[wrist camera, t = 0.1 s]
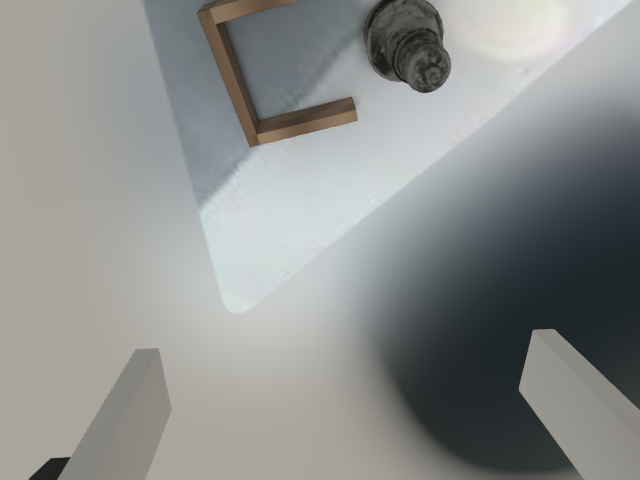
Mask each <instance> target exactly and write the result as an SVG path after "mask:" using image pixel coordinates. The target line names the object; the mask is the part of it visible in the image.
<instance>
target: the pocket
mask: <svg viewBox="0 0 640 480" xmlns="http://www.w3.org/2000/svg"><path fill="white" fill-rule="evenodd" d="M294 1H298V0H219V1H216V2H212V3H209V4H206V5H204V6H203V7H202V8H201V9H200V10H199V11H198V12H197V14H198V17H199V20H200V22H201V25H202V27H203V30H204V32H205V35H206V37H207V40H208V42H209V45H210V47H211V50H212V53H213V55H214V58H215V60H216V63H217V65H218V68H219V70H220V73H221V75H222V78H223V80H224V83H225V86H226V88H227V91H228V93H229V96H230V98H231V101H232V103H233V106H234V108H235V111H236V113H237V116H238V118H239V121H240V124H241V126H242V129H243V131H244V134H245V136H246V139H247V141H248V144H249V146H250V147H254V146H258V145H262V144H266V143H270V142H274V141H278V140H282V139H286V138H290V137H294V136H298V135H302V134H306V133H310V132H314V131H318V130H322V129H326V128H330V127H335V126H339V125H343V124H347V123H351V122H355V121H358V119H357V113H356V109H355V106H354V103H353V99H352V97H350V98H346V99H342V100H338V101H335V102H331V103H327V104H323V105H319V106H315V107H311V108H307V109H303V110H299V111H295V112H291V113H287V114H283V115H280V116H276V117H272V118H268V119H264V120H260V121H259V120H258V117H257V114H256V111H255V109H254V106H253V103H252V100H251V97H250V95H249V92H248V89H247V86H246V83H245V81H244V78H243V75H242V72H241V69H240V67H239V64H238V61H237V58H236V56H235V53H234V50H233V47H232V44H231V42H230V39H229V36H228V33H227V30H226V28H225V25H224V22H225V21H228V20H232V19H235V18H239V17H242V16H246V15H249V14H253V13H256V12H260V11H263V10H267V9H270V8H274V7H277V6H280V5H284V4H287V3H291V2H294Z"/></svg>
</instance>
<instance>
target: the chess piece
mask: <svg viewBox="0 0 640 480" xmlns="http://www.w3.org/2000/svg"><path fill="white" fill-rule="evenodd" d="M443 32H444V31H443V25H442V20H441V18H440V16H439V13H438V11H437V10H436V9H435V8H434V7H433V6H432V5H431V4H430V3H428V2H427V1H425V0H381V1H380V2H379V3H377V4H376V5H375V6H374V8H373V9H372V10H371V12H370V13H369V16H368V18H367V20H366V23H365V28H364V41H365V45H366V48H367V55H368V58H369V62H370V64H371V65H372V67H373V69H374V70H375V71H376V72H377V73H378V74H379V75H380V76H381V77H383V78H385V79H387V80H389V81H396V82H402V81H403V82H405V83H408V84H409V85H410V87H411V88H413V89H414V90H416V91H418V92H421V93H429V92H432V91H435V90H437V89H438V88H439V87H441V86H442V85H443V84H444V83H445V81H446V80H447V78H448V76H449V73H450V69H451V61H450V57H449V55H448V52H447V51H446V50H445V49H444V48H443Z"/></svg>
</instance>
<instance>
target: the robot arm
mask: <svg viewBox="0 0 640 480" xmlns="http://www.w3.org/2000/svg"><path fill="white" fill-rule="evenodd" d="M519 391H520V392H521V393H522V395H523V396H524V398H525V399H526V400H527V402H528V403H529V405H530V406H531V407H532V408H533V410H534V411H535V413H536V414H537V416H538V417H539V418H540V420H541V421H542V422H543V424H544V425H545V426H546V428H547V429H548V430H549V432H550V433H551V435H552V436H553V437H554V439H555V440H556V442H557V443H558V444H559V446H560V447H561V448H562V450H563V451H564V452H565V454H566V455H567V457H568V458H569V459H570V461H571V462H572V463H573V465H574V466H575V467H576V469H577V470H578V472H579V473H580V474H581V476H582V477H583V478H584V480H640V410H639V409H638V408H636V407H635V406H634V405H633V404H632V403H631V402H630V401H629V400H628V399H627V398H626V397H625V396H624V395H623V394H622V393H621V392H620V391H619V390H618V389H617V388H615V387H614V386H613V385H612V384H611V383H610V382H609V381H608V380H607V379H606V378H605V377H604V376H603V375H602V374H601V373H599V371H598V370H596V369H595V368H594V367H593V366H592V365H591V364H590V363H589V362H588V361H587V360H586V359H585V358H584V357H583V356H582V355H581V354H579V352H577V351H576V350H575V349H574V348H573V347H572V346H571V345H570V344H569V343H568V342H567V341H566V340H565V339H564V338H563V337H562V336H560V335H559V334H558V333H557V332H556V331H555V330H554V329H549V330H548V329H547V330H533V333H532V338H531V341H530V346H529V349H528V354H527V358H526V362H525V366H524V370H523V374H522V378H521V382H520V387H519ZM171 410H172V409H171V404H170V400H169V395H168V390H167V386H166V381H165V376H164V371H163V367H162V362H161V357H160V353H159V349H158V348H154V349H136V350H135V351H134V353H133V354H132V356H131V358H130V359H129V361H128V363H127V364H126V366H125V368H124V369H123V371H122V373H121V374H120V376H119V378H118V379H117V381H116V383H115V384H114V386H113V388H112V389H111V391H110V393H109V394H108V396H107V398H106V399H105V401H104V403H103V404H102V406H101V408H100V409H99V411H98V413H97V414H96V416H95V418H94V419H93V421H92V423H91V424H90V426H89V428H88V429H87V431H86V433H85V434H84V436H83V438H82V439H81V441H80V443H79V444H78V446H77V448H76V449H75V451H74V453H73V454H72V456H71V457H65V458H51V459H50V460H49V461H47V462H46V463H45V464H44V465H43V466H42V467H41V468H40V469H39V470H38V471H37V472H36V473H35V474H34V475H32V476H31V477H30V479H29V480H145V479H146V476H147V473H148V471H149V468H150V465H151V463H152V460H153V457H154V455H155V452H156V450H157V447H158V444H159V442H160V439H161V436H162V434H163V431H164V428H165V426H166V423H167V421H168V418H169V415H170V413H171Z"/></svg>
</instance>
